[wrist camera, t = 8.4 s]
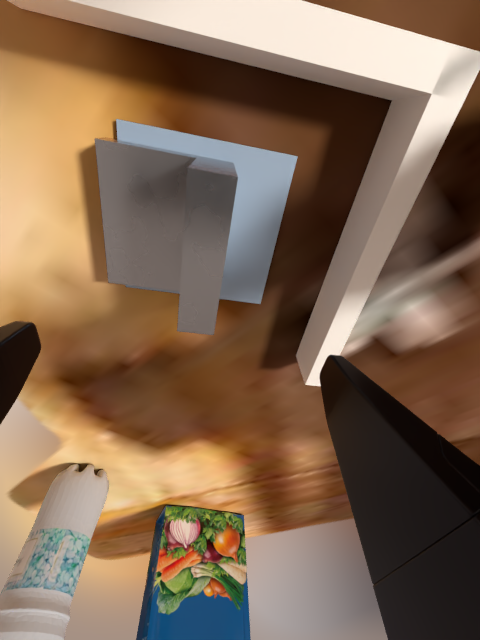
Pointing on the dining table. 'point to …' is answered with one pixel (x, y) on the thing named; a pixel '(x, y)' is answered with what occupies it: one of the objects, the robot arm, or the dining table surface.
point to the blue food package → (196, 578)
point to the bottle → (53, 557)
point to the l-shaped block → (336, 70)
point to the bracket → (167, 224)
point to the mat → (235, 202)
